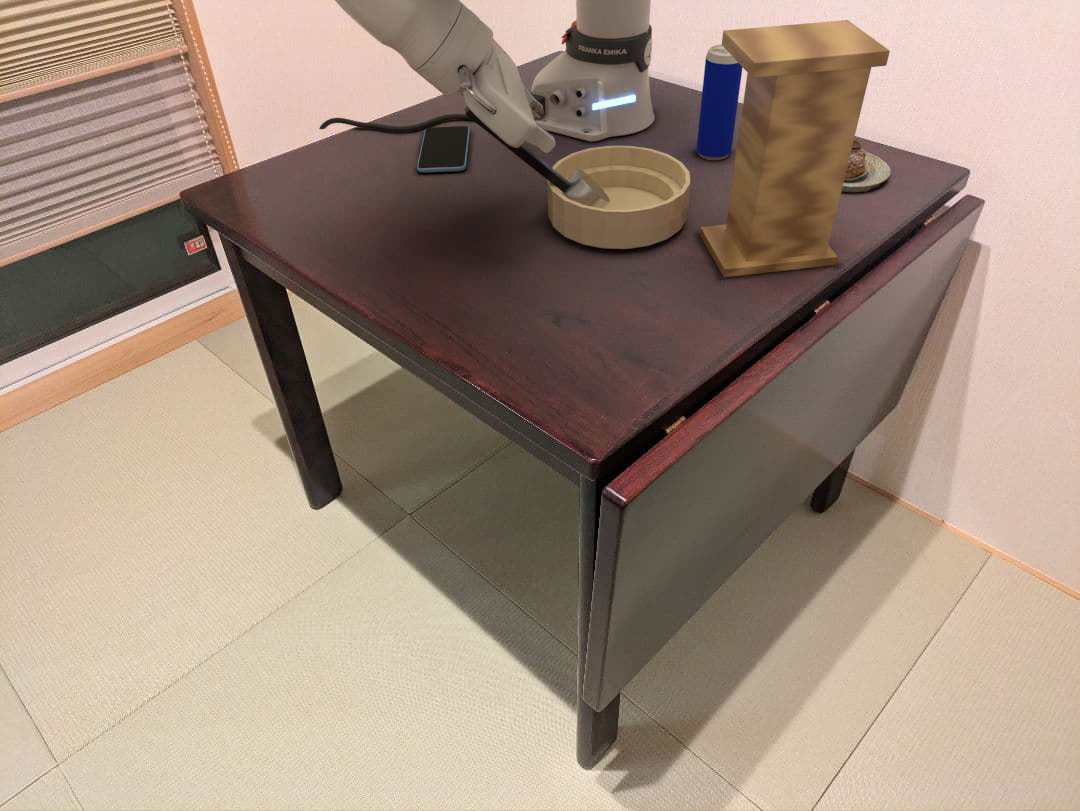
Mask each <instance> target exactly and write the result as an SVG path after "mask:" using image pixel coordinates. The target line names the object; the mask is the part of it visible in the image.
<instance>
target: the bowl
mask: <svg viewBox="0 0 1080 811" xmlns="http://www.w3.org/2000/svg"><path fill="white" fill-rule="evenodd" d="M551 168H552V169H554V170H555V171H556V172H557V173H559V174H560V175H561V176H562V177H563V178H565V179H566V180H567V179H568V178H569V177H570V176H571V175H572V173H573V172H574V171H575V170H576V169H580V170H582V171H583V172H585V173H586V174H587V175H588V176H590V177H591V178H592V179H593V180H594V181H595V182H596V183H597V184H598V185H599V186H600V187H601V188H602V189H603V191H604V192H605V193H606V194H607V196H608V197H609V199H610V202H609V203H608V204H607V205H606V206H605V207H604V209H603V208H597V207H592V206H586V205H583V204H580V203H578V202H575V201H573V200H570V199H568V198H567V197H566V196H565V194H564V193H563V192H562V191H561V190H560V189H558V188H557V187H556V186H555V185H553V184H552V183H551V182H549V181H548V180H547V179H546V182H547V183H546V184H547V187H546V188H547V213H548V214H547V216H548V218H549V221H550V223H551V226H552V228H554V229H555V230H556V231H557V232H559V233H560V235H562V236H563V237H564V238H567V239H569V240H572V241H574V242H577V243H579V244H581V245H583V246H589V247H595V248H600V249H609V250H610V249H612V250H614V249H616V250H628V249H636V248H642V247H649V246H652V245H654V244H657V243H660V242H663V241H665V240H666V241H667V240H668V239H669V238H671V237H673V236H674V235H675V234H677V233H678V232H679V231H681V230H682V228H683V227H684V225H685V223H686V221H687V220H688V211H689V200H690V191H691V172H690V170H689V169H688V168H687V167H686V166H685V164H684V163H683V162H682V161H680V160H678V159H677V158H675V157H674V156H671V155H670V154H669V153H665V152H662V151H659V150H657V149H656V150H655V149H653V148H650V147H649V148H647V147H642V146H635V145H605V146H604V145H603V146H597V147H589V148H585V149H582V150H578V151H575V152H572V153H570V154H568V155H566V156H564V157H563V158H561V159H559V160H558V161H556V162H555V164H554V165H553V166H552V167H551Z"/></svg>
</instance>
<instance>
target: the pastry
mask: <svg viewBox="0 0 1080 811" xmlns="http://www.w3.org/2000/svg"><path fill="white" fill-rule="evenodd" d="M891 171H892V170H891V167H890V166H889V164H888V163H887V162H886V161H885V160H883V159H882V158H880V157H879V156H877V155H876V154H873V153H871V152H868V151H865V150H864V149H863V148H862V143H861V142H860V141H858V140H854V141H853V146H852V150H851V154H850V158H849V162H848V166H847V170H846V174H845V179H844V183H843V187H842V191H841V193H842V192H843V193H861V192H862V193H863V192H869V191H871V190H872V189H875V188H877V187H879V186H880V185H881V184H882V183H884V182H885V181H886V180H888V179H889V178H890V177H891V173H892V172H891Z"/></svg>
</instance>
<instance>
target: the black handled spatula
mask: <svg viewBox="0 0 1080 811" xmlns="http://www.w3.org/2000/svg"><path fill="white" fill-rule="evenodd" d="M463 110H464V114H466V115H467V116H468V117H469V118H470V119H472V120H473V121H472V120H471V121H472V122H474V123H475V124H477V125H478V126H479V127H481V129H483V130H484V131H485V132H487V133H488V134H489V135H490V136H492V138H494V139H496V140H497V141H498V142H499V143H501V144H502V145H503V146H504V147H505V148H507V149H508V150H509V151H511V153H513V154H514V155H516V156H517V157H518V158H519V159H521V160H522V161H523V162H525V163H526V164H527V165H528V166H529V167H531V168H532V169H533V170H534V171H536V172H537V173H538V174H539V175H540V176H542V178H544V179H546V181H547V180H548V181H549V182H551V183H552V184H553V185H555V186H556V187H557V188H558V189H560V190H561V191H562V192H563V193H564V194H565V196H566V197H567V198H568V199H570V200H573V201H575V202H578V203H580V204H583V205H586V206H592V207H597V208H603V209H604V207H605V206H606V205H607V204H608V203H609V202H610V199H609V197H608V196H607V194H606V193H605V192H604V191H603V189H602V188H601V187H600V186H599V185H598V184H597V183H596V182H595V181H594V180H593V179H592V178H591V177H590V176H588V175H587V174H586V173H585V172H583V171H582V170H580V169H576V170H575V171H574V172H573V173H572V175H571V176H570V177H569V178H568V179H567V180H566V179H565V178H563V177H562V176H561V175H560V174H559V173H557V172H556V171H555V170H554V169H552V167H551V166H550V165H549V164H548V163H546V162H545V161H544V160H543V159H541V158H540V157H539V156H538V155H537V154H535V153H534V152H533V151H531V150H530V149H529V148H528V147H527V146H525V145H524V143H523V144H522V145H521V146H520V147H518V148H514V147H512V146H510V145H508V144H507V143H506V142H504V141H503V140H502V139H501V138H500V137H499V136H498V135H496V134H495V133H494V132H493V131H492V130H491V129H490V128H489V127H487V126H486V125H485V124H484V123H483V122H482V121H481V120H480V119H479V118H478V117H477V116H476V115H475V114H474V113H473V112H472V111H471V110H470V109H469V107H468V106H467V105H466V106H465V108H464V109H463Z"/></svg>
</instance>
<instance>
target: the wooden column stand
mask: <svg viewBox="0 0 1080 811" xmlns="http://www.w3.org/2000/svg"><path fill="white" fill-rule="evenodd" d="M721 38H722V39H721V45H722V46H723V47H724V48H725V49H726V50H727V51H728V52H729V53H730V54H731V55H732V56H733V57H734V59H735V60H736V61H737V62H738V63H739V64H740V65H741V66H742V67H743V68H742V69H743V70H744V71H745V72H746V80H745V81H746V82H745V87H744V93H743V94H744V96H743V103H742V110H741V117H740V123H739V124H740V125H739V131H738V138H737V145H736V151H735V152H736V153H735V159H734V160H735V161H734V166H733V167H734V168H733V173H732V174H733V175H732V182H731V188H730V196H729V203H728V211H727V217H726V224H718V225H708V226H700V229H699V237H700V239H701V240H702V242H703V244H704V245H705V247H706V249H707V250H708V253H709V254H710V256H711V258H712V260H713V261H714V263H715V265H716V266H717V268H718V270H719V272H720V274H721V275H722V278H730V277H732V278H733V277H741V276H748V275H757V274H768V273H776V272H785V271H794V270H803V269H811V268H812V269H813V268H821V267H822V268H823V267H831V266H836V265H837V262H838V255H837V254H836V253H835V251H834V250H833V249H832V247H831V246H830V245H829V244H830V240H831V236H832V232H833V228H834V224H835V220H836V216H837V211H838V207H839V202H840V199H841V195H842V187H843V183H844V179H845V174H846V170H847V166H848V162H849V158H850V154H851V150H852V146H853V141H855V137H856V133H857V130H858V126H859V120H860V116H861V112H862V108H863V103H864V100H865V95H866V91H867V87H868V84H869V79H870V74H871V71H872V68H874V67H875V68H876V67H877V68H878V67H886V66H888V60H889V56H890V53H891V50H890V49H888V48H887V47H886V46H885V45H883V44H882V43H880V42H879V41H877V40H876V39H875V38H873V37H872V36H870V35H869V34H867V33H866V32H865V31H864V30H862V29H861V28H859V27H858V26H856V25H855V24H854V23H853V22H851V21H850V20H848V19H843V20H831V21H818V22H807V23H796V24H795V23H794V24H785V25H783V24H782V25H771V26H761V27H760V26H759V27H749V28H737V29H726V30H725V29H723V31H722V37H721Z"/></svg>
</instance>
